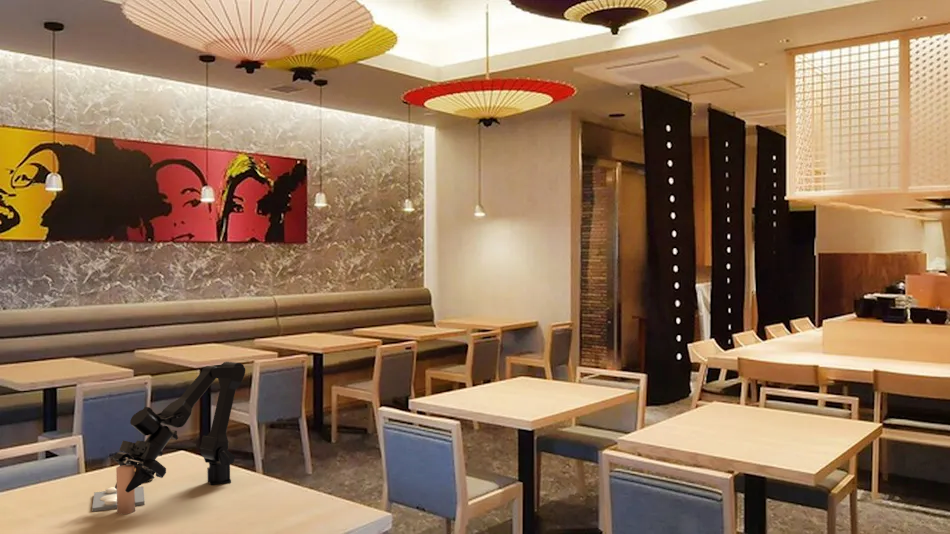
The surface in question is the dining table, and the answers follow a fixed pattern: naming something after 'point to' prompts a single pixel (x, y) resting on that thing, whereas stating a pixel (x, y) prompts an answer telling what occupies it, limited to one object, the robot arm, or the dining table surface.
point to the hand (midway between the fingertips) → (121, 490)
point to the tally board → (114, 499)
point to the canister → (125, 498)
